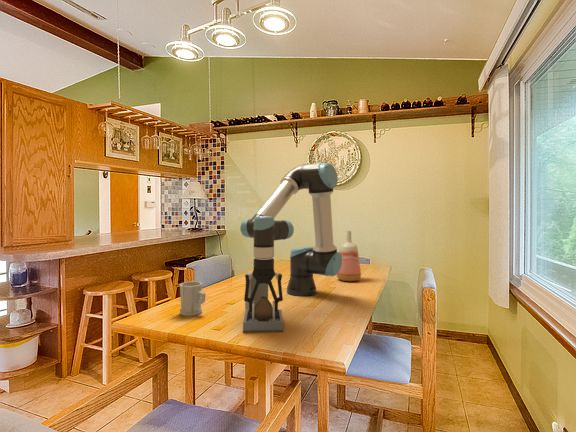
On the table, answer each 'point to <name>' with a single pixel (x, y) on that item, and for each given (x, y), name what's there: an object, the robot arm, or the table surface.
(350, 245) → the pink tapered bottle
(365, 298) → the table surface
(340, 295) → the table surface
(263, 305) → the vase
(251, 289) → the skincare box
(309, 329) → the table surface
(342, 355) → the table surface
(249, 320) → the bin
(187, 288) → the cup
